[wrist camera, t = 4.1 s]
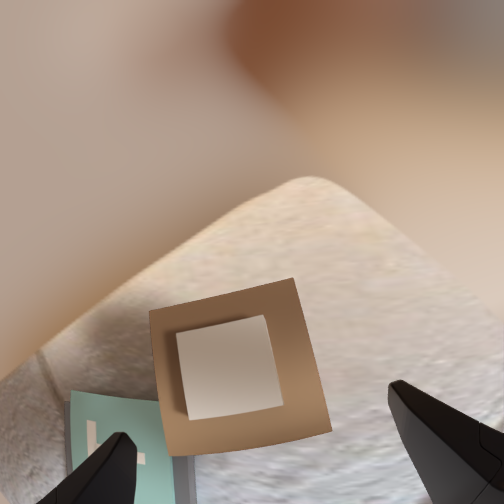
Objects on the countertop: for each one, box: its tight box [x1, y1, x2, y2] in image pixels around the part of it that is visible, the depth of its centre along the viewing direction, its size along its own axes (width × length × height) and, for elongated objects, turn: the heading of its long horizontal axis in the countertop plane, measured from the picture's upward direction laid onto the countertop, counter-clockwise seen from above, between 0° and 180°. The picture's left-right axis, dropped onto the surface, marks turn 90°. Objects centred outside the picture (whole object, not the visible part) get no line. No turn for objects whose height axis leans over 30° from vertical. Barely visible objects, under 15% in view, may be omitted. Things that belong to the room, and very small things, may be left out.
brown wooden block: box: [149, 278, 332, 456], centre depth 12 cm, size 4×4×12 cm
